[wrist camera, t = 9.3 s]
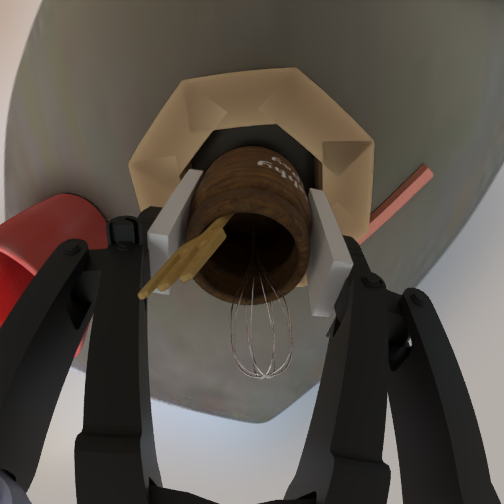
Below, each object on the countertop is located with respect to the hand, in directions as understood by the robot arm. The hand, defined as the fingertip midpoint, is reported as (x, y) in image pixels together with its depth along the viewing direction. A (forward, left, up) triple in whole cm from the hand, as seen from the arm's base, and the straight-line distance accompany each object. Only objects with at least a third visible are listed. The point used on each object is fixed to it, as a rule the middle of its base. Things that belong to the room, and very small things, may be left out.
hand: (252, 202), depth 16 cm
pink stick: (-4, +9, -4) cm, 10 cm away
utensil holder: (0, 0, -2) cm, 2 cm away
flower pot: (+13, -9, -4) cm, 16 cm away
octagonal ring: (0, 0, -4) cm, 4 cm away
